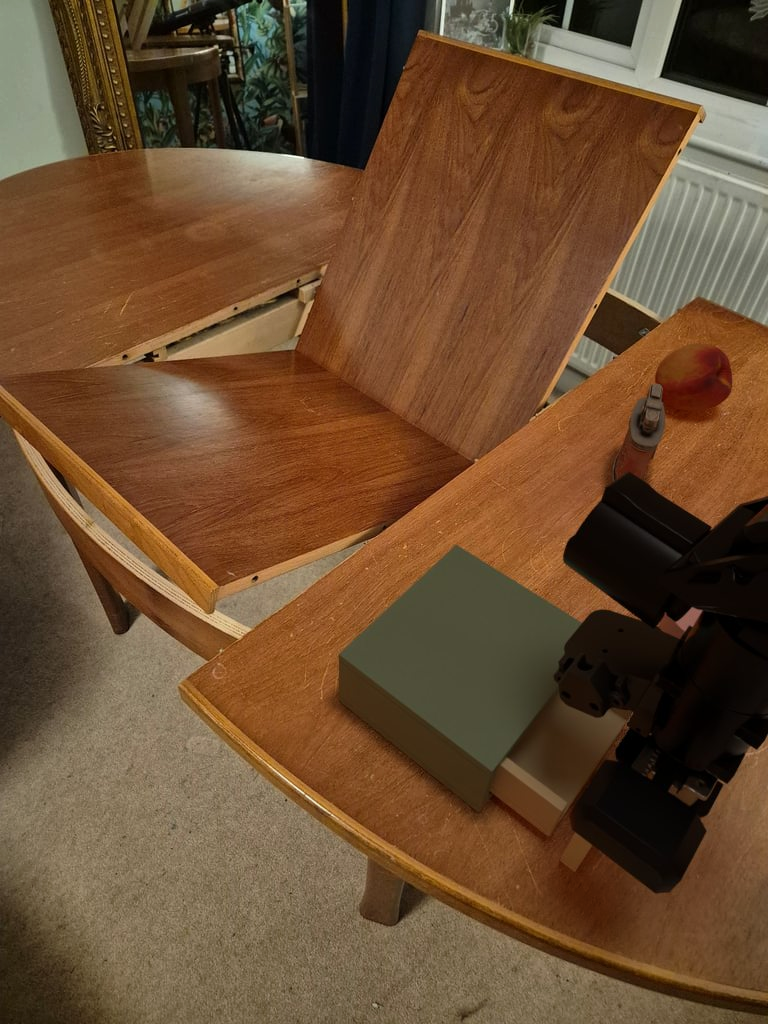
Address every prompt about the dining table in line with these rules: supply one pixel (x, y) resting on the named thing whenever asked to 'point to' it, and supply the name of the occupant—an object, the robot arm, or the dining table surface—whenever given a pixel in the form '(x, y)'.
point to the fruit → (695, 377)
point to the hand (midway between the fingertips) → (648, 792)
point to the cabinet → (457, 670)
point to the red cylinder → (679, 623)
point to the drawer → (556, 767)
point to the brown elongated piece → (641, 435)
